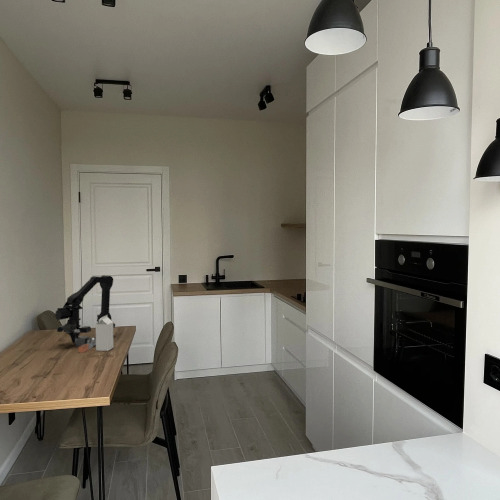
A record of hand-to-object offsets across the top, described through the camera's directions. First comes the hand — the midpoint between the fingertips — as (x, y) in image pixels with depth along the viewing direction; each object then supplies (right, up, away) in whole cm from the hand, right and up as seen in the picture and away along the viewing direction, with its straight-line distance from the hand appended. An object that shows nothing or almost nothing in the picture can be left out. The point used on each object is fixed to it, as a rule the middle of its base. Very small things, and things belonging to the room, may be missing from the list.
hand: (74, 343), depth 239 cm
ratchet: (+10, -1, -7) cm, 12 cm away
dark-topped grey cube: (+5, -1, -1) cm, 5 cm away
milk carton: (+21, -2, -9) cm, 23 cm away
